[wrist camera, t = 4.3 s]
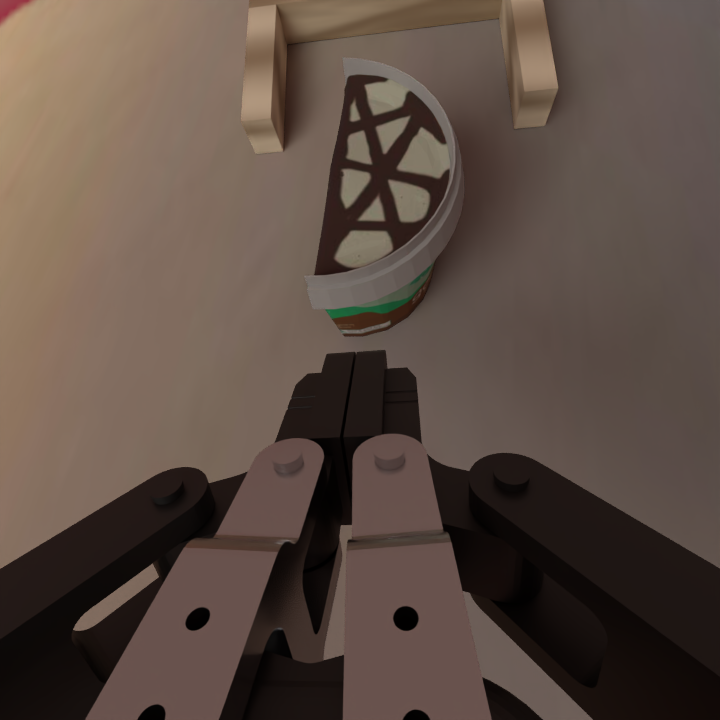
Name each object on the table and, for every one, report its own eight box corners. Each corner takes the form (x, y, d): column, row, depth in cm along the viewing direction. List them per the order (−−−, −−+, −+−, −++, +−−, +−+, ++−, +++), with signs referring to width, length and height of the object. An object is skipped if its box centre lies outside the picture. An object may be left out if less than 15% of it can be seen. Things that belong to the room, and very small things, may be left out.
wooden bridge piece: (544, 125, 30) (558, 87, 28) (256, 154, 32) (240, 121, 30) (523, -6, 34) (533, -52, 31) (263, 27, 36) (250, -13, 33)
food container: (443, 369, 27) (459, 300, 17) (340, 359, 27) (301, 289, 18) (457, 189, 30) (478, 47, 20) (365, 185, 31) (343, 48, 21)
